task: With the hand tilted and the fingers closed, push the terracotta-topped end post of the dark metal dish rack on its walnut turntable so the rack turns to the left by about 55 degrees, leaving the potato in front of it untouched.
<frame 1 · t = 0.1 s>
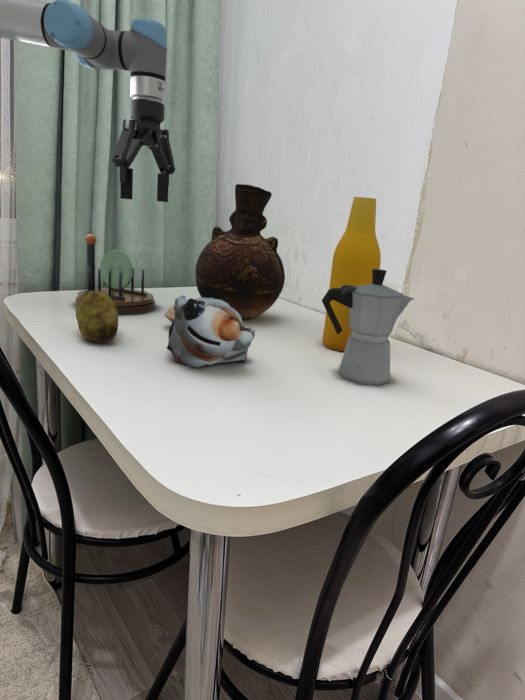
hand: (145, 200, 118), 25 cm above the table, tool pointing down, fingers open, 13 cm apart
ceramic vessel: (236, 317, 121), on the table
coffee maker: (357, 377, 85), on the table
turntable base: (116, 306, 120), on the table
dish rack: (115, 268, 117), point 9 cm above the table, hinge at 0.0°
pottery oil lamp: (186, 332, 103), on the table
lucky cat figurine: (211, 362, 86), on the table
beer bottle: (344, 347, 103), on the table
potato: (97, 337, 94), on the table
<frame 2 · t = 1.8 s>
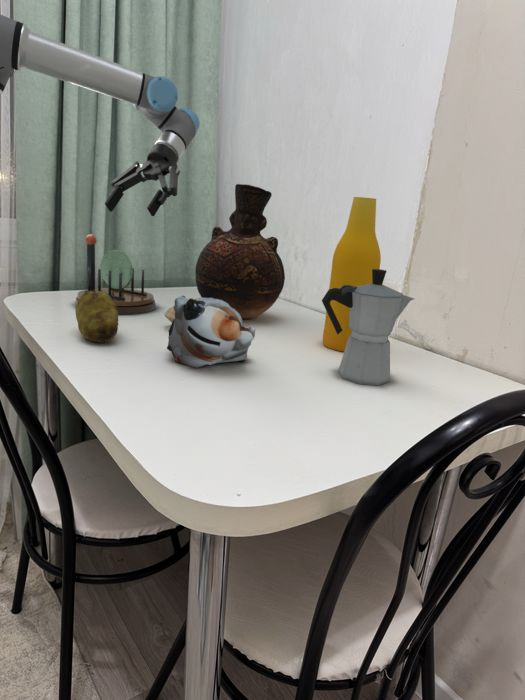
hand: (128, 209, 128), 22 cm above the table, tool tilted 45°, fingers open, 13 cm apart
nothing on the table moved.
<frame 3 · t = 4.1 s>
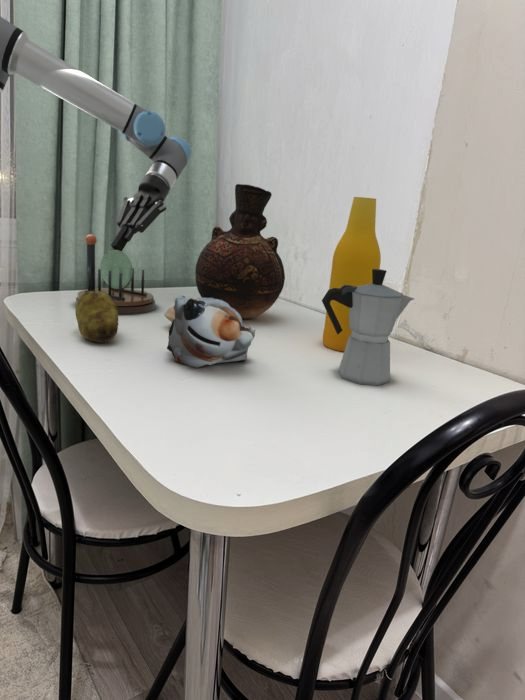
hand: (115, 249, 127), 12 cm above the table, tool tilted 45°, fingers closed
nothing on the table moved.
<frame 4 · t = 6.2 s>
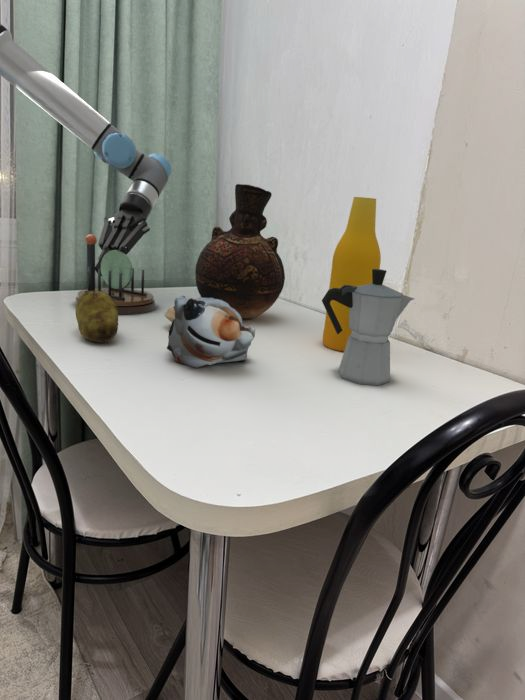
hand: (99, 272, 123), 7 cm above the table, tool tilted 45°, fingers closed
dish rack: (115, 268, 117), point 9 cm above the table, hinge at 0.1°, touching gripper
everything else where it was.
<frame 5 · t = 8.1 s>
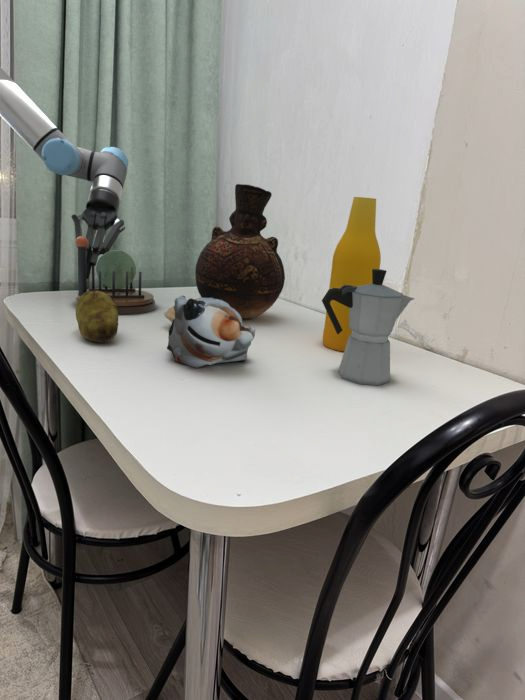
hand: (85, 275, 116), 7 cm above the table, tool tilted 45°, fingers closed
dish rack: (115, 268, 117), point 9 cm above the table, hinge at 53.0°, touching gripper
everything else where it was.
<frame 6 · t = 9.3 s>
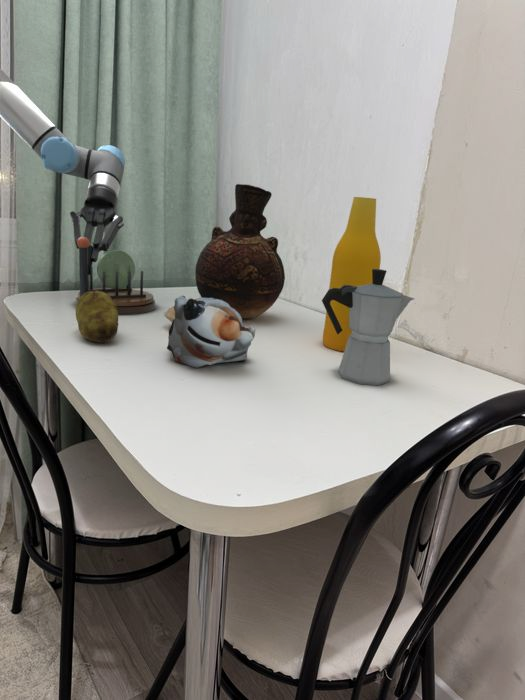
hand: (85, 271, 117), 8 cm above the table, tool tilted 45°, fingers closed
dish rack: (115, 268, 117), point 9 cm above the table, hinge at 62.3°, touching gripper
everything else where it was.
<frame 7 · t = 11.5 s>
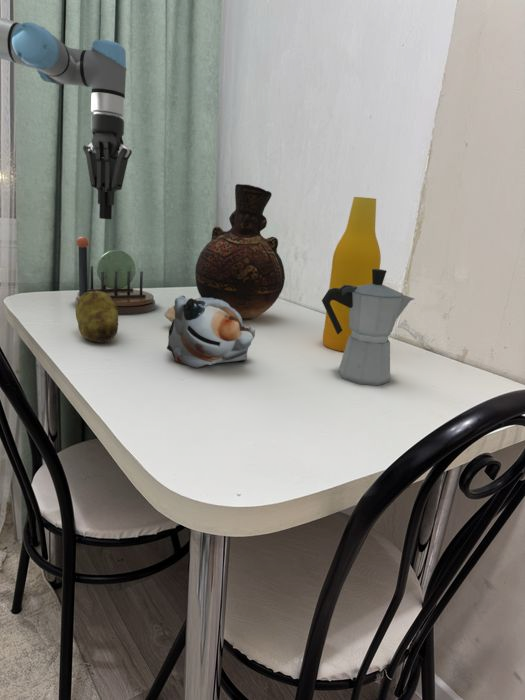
hand: (105, 218, 125), 19 cm above the table, tool pointing down, fingers closed
dish rack: (115, 268, 117), point 9 cm above the table, hinge at 59.2°
everything else where it was.
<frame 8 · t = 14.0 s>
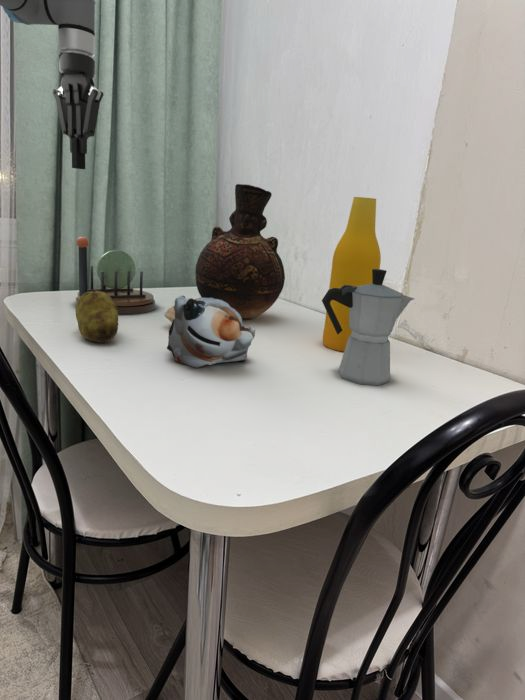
hand: (78, 168, 118), 30 cm above the table, tool pointing down, fingers closed
nothing on the table moved.
at the end: dish rack at +59° (first picture: +0°); potato moved 0.2 cm from its start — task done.
